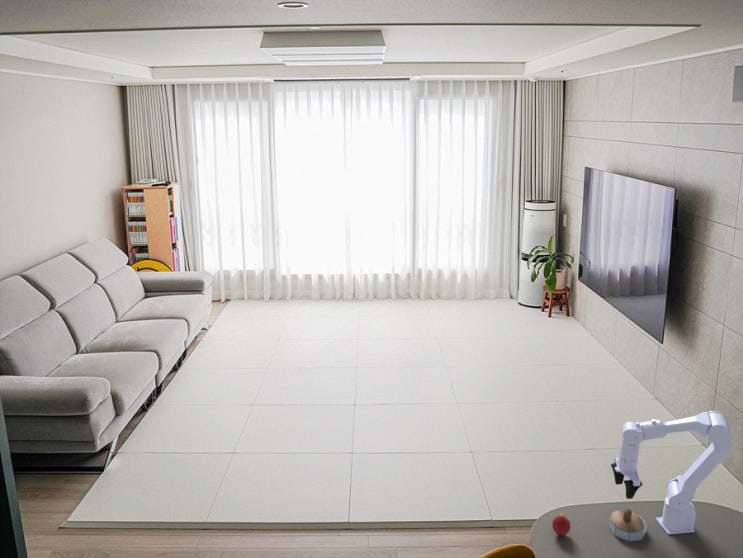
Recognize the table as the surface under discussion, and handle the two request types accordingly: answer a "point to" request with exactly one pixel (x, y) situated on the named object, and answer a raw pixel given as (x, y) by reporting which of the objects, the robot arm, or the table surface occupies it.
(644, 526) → the bowl
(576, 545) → the table surface
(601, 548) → the table surface
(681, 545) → the table surface
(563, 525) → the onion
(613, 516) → the lid
